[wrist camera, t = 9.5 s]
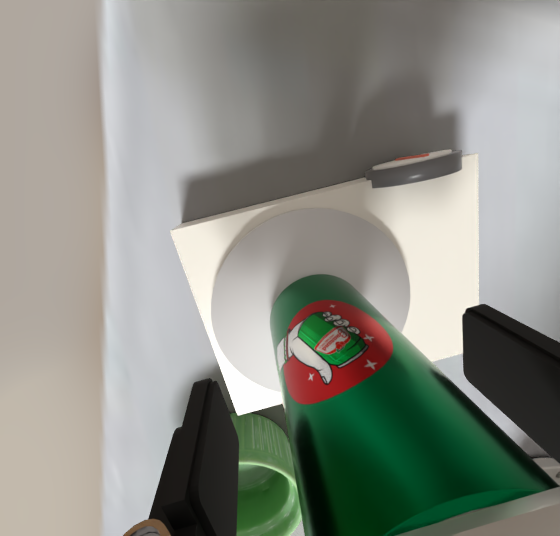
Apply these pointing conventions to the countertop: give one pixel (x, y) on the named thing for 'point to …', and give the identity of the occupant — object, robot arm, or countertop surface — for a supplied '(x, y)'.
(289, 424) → the soda can
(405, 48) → the countertop surface
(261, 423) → the ramekin
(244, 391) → the scale
